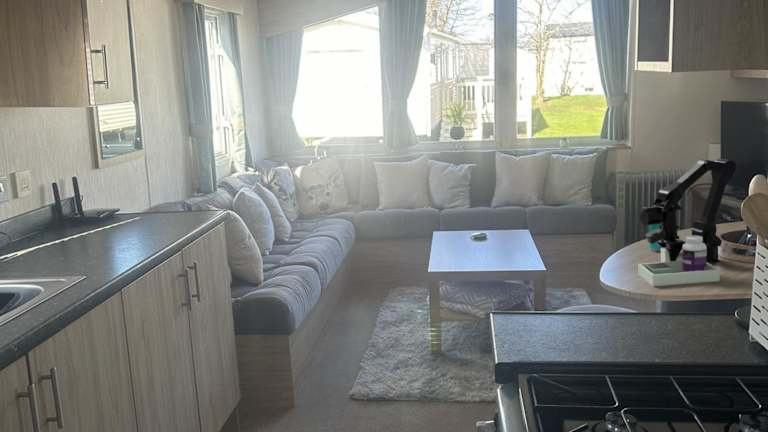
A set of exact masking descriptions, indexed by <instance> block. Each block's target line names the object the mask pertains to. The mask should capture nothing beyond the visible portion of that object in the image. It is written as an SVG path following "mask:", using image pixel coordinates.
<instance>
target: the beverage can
mask: <svg viewBox="0 0 768 432" xmlns="http://www.w3.org/2000/svg"><path fill="white" fill-rule="evenodd" d="M660 224H661V223H660ZM658 226H659V224H655V225H648V227H649V232H651V231H653V230H656V229H658V228H659V227H658ZM657 242H659V241H657ZM657 242H655V243H654V244H650V243H649V246H650V247H649V248H650V250H651V251H652V252H661V248H662V247H661V246H660V245H659V244H658V243H657Z"/></svg>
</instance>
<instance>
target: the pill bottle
mask: <svg viewBox="0 0 768 432" xmlns="http://www.w3.org/2000/svg"><path fill="white" fill-rule="evenodd" d="M702 241H703V237H702V236H692V235H687V236H685V243H684V244H683V246H682V250H681V252H682V258H681V259H682V272H692V271H704V270H707V263H708V262H707V247H706V245H705V244H704V243H702Z"/></svg>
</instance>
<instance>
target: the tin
mask: <svg viewBox="0 0 768 432" xmlns="http://www.w3.org/2000/svg"><path fill="white" fill-rule="evenodd" d="M646 269H648V270H649V271H650V272H651V273H653V274H654V275H655V274H667V273H672V272H671V267H670V266H668V265H667V264H665V263H658V264H646Z"/></svg>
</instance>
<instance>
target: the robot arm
mask: <svg viewBox="0 0 768 432" xmlns="http://www.w3.org/2000/svg"><path fill="white" fill-rule="evenodd" d="M696 162H697V163H695V165H694V166H692V167H691V168H690V169H689V170H687V171H686V172H685V173H684V174H683V175H682V176H681V177H680V178H678V179H677V180H676V181H675V182H673V183H670V184H667V185H666V186H665V187H663V188H661V189H660V190H659V191H658V192H657V196H656V198H655V199H654V201H653V202H652V205H651V206H649V207H648V206H644V207H643V208H642V209H643V210H642V211H641V213H640V215H639V218H640V222H641V224H642V225H643V226H645V227H646V226H648V227H649V225H655V224H659V226H658V227H659V228H658V229H656V230H653V231H651V232H650V231H649V232H646V233H645V234H644V236H645V238H646V240H647V242H648V243H649V245H650V244H654V243H655V242H657V241H659V242H657V243H658V244H659V245H660V246H661V247H662V248H664V247H665V249H666V250H668V252H669V258H670V261H676V259H677V257H678V255H679V256H680V254H681V252H682V246H683V244H684V243H686V241H684V240H682V239H680V236H679V234H678V229H680V225H679V224H678V211H680V210H683V207H682V206H681V205H680V204H679V203H680V201H681V200H682V199H683V197H684V194H685V192H686V191H687V190H688V189H689V188H691V186H693V185H694V184H695V183H696V182H698V180H700V178H702V177H703V176H704V175H705V174H706V173H708V171H709V172H710V173H711V174H710V175H711V179H712V182H711V186H710V189H709V193H708V195H707V199H706V202H705V205H704V209H703V210H702V211H703V212H702V215H701V217H700V218H699V219H698V220H694V221H693V223H692V227H691V229H690V231H691V236H702V237H703V241H702V243H704V244H705V245H706V247H707V263H716V262H717V263H718V262H721V259H719V247H721V245H722V243H723V240H722V239H721V238H720V237H719V236H718V235H717V225H716V220H717V219H716V218H717V215H718V213H719V210H720V206H721V204H722V199H723V197H724V195H725V194H724V193H725V191H726V187H727V184H728V183H730V182H731V180H732V179H733V177H734V176H735V174H736V172H737V169H738V166H737V164H736V162H735V161H734V160H732V159H724V158H717V159H716V160H709V159H699V160H698V161H696ZM660 223H661V224H660Z"/></svg>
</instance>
